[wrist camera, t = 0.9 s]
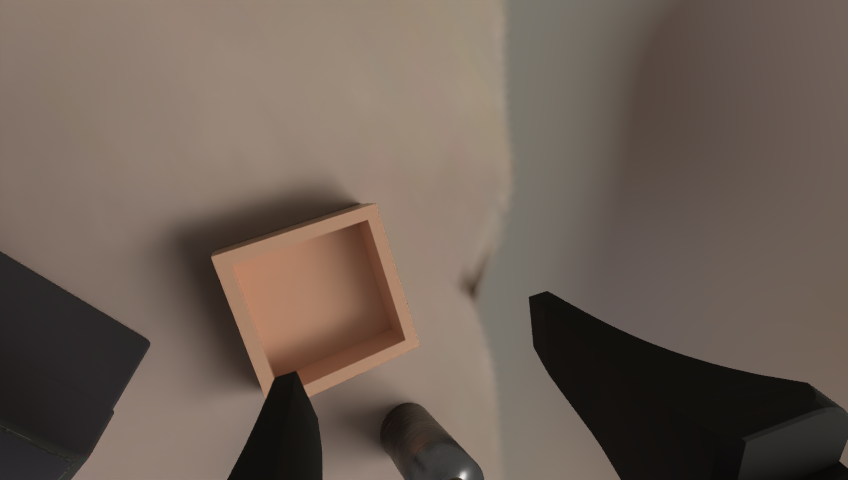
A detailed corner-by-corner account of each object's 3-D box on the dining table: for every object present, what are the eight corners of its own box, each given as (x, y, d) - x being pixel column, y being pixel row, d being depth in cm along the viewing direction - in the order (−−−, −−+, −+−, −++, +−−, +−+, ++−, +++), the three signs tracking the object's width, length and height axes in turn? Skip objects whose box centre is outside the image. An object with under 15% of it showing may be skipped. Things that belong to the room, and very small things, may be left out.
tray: (401, 332, 33) (420, 346, 30) (267, 391, 30) (271, 414, 27) (361, 203, 32) (375, 203, 28) (213, 251, 28) (210, 256, 25)
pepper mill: (436, 439, 35) (496, 507, 27) (389, 465, 34) (437, 545, 26) (422, 393, 34) (479, 449, 27) (373, 418, 33) (417, 485, 25)
